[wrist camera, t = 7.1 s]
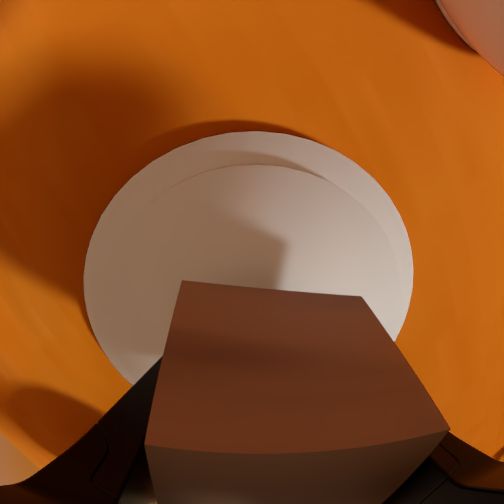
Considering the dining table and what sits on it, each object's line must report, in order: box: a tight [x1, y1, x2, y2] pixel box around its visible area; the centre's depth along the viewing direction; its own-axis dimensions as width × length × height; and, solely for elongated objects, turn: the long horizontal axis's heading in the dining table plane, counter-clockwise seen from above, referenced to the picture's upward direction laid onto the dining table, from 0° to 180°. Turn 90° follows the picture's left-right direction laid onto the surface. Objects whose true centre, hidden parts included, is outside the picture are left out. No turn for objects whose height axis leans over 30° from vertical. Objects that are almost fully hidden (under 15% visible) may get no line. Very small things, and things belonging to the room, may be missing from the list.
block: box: [144, 280, 450, 504], centre depth 7 cm, size 5×5×5 cm
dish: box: [84, 131, 413, 385], centre depth 12 cm, size 13×13×1 cm
